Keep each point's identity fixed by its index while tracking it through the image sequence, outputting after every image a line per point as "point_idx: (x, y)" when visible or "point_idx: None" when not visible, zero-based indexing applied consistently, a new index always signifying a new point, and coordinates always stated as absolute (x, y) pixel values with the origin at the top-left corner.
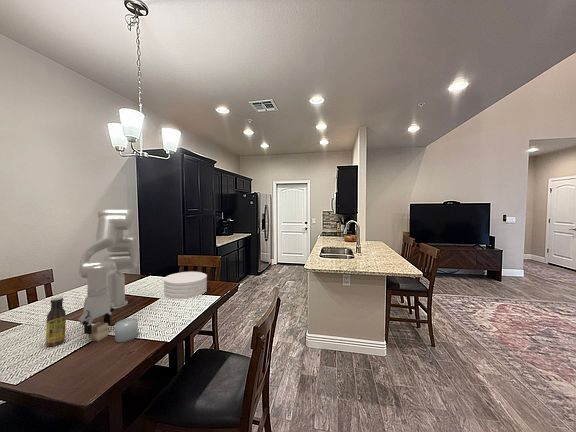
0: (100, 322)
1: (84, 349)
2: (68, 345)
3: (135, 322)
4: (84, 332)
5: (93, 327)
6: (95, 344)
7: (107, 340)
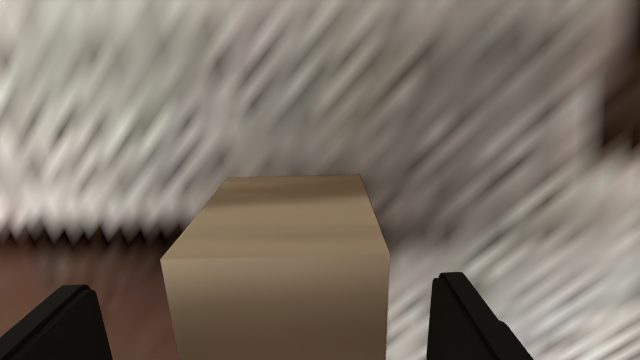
0: (385, 299)
1: None
2: (64, 56)
3: None
4: (54, 297)
5: (186, 345)
6: None
7: None
